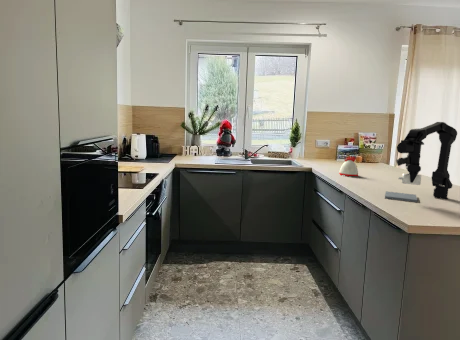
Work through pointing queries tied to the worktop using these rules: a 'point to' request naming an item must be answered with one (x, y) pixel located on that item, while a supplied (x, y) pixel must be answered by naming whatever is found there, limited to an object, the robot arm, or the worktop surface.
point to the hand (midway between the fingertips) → (411, 181)
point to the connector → (407, 179)
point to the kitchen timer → (349, 168)
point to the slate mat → (401, 196)
